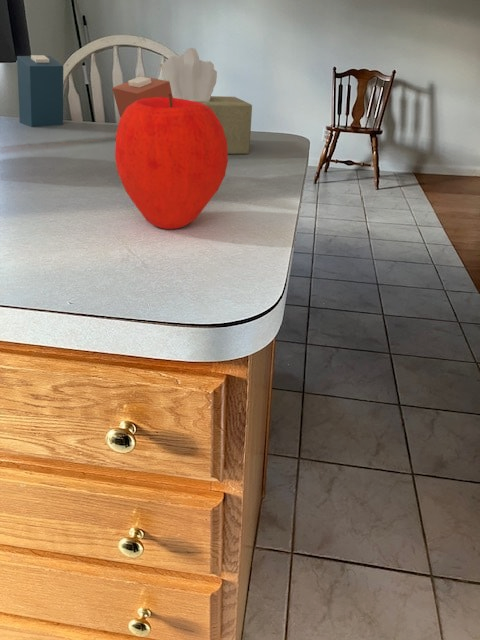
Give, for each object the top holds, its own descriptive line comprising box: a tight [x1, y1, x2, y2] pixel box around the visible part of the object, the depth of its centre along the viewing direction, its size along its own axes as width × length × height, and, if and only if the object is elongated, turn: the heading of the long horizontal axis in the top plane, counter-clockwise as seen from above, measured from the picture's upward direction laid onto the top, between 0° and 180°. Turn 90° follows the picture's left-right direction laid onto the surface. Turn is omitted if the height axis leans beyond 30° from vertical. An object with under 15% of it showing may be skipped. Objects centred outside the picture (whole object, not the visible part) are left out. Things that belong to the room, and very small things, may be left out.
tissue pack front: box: [111, 76, 173, 119], centre depth 73 cm, size 13×6×5 cm
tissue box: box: [160, 47, 253, 155], centre depth 91 cm, size 19×10×16 cm, turn 107°
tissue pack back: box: [16, 54, 64, 128], centre depth 96 cm, size 13×6×5 cm
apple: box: [114, 94, 229, 230], centre depth 57 cm, size 12×12×13 cm
